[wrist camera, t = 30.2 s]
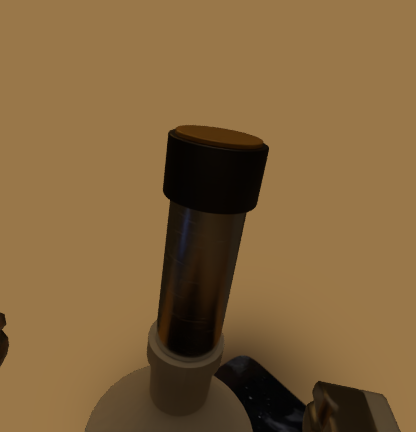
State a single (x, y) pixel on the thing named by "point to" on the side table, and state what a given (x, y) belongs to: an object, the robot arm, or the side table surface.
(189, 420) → the bottle
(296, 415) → the side table surface
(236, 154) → the torch
